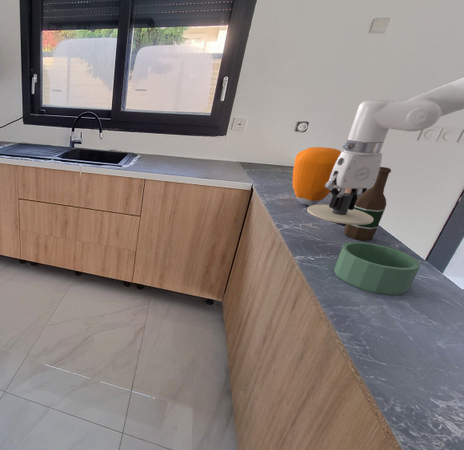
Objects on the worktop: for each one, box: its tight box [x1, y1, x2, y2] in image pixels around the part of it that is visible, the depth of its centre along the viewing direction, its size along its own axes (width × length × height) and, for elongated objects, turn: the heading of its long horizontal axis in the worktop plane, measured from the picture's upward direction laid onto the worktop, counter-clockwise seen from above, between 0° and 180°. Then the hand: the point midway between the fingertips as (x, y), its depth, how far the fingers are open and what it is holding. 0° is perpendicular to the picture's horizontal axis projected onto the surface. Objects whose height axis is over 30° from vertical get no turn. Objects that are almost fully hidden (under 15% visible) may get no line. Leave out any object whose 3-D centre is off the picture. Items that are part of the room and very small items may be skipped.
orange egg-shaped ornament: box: [292, 146, 342, 207], centre depth 132 cm, size 17×17×25 cm
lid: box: [306, 193, 374, 225], centre depth 94 cm, size 16×16×7 cm
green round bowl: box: [333, 241, 421, 296], centre depth 82 cm, size 15×15×8 cm
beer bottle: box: [343, 166, 392, 242], centre depth 103 cm, size 8×8×24 cm
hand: (340, 208), depth 94 cm, fingers closed on lid, 3 cm apart
